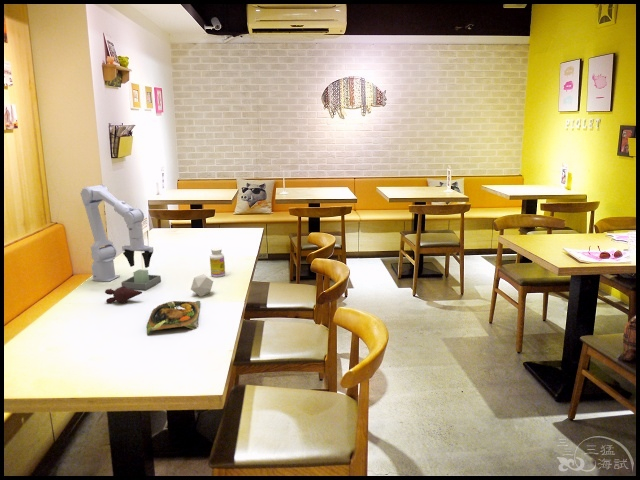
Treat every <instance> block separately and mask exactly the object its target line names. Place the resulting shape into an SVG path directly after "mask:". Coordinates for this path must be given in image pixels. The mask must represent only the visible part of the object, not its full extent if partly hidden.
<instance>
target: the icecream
mask: <svg viewBox="0 0 640 480" xmlns="http://www.w3.org/2000/svg"><path fill="white" fill-rule="evenodd" d="M104 293H105V294H106V295H110V296H111V295H113V296H112V297H109V298H106V303H107V304H112V303H114V302H118V303H123V304H124V303H127V302H128V301H129V300H131V299H132V298H135V297H137V296H139V295H141V294H142V293H143V291H142V290H132V289H127V288H126V287H125V286H123V287H122V286H120V287H118V288H116V289H115V290H114V289H112V288H108V289H105V291H104Z"/></svg>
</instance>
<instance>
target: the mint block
mask: <svg viewBox="0 0 640 480" xmlns="http://www.w3.org/2000/svg"><path fill="white" fill-rule="evenodd" d="M132 274H133V276H134V283H144V284H145V283H147V282H148V281H149V275H150V274H149V270H148V269H137V270H136V271H133V273H132Z"/></svg>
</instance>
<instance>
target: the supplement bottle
mask: <svg viewBox="0 0 640 480" xmlns="http://www.w3.org/2000/svg"><path fill="white" fill-rule="evenodd" d="M222 251H223V250H222V247H213V248H212V249H211V254H210V255H209V264H210V275H211V276H212V277H214V278H219V277H223V276H225V275H226V265H225V264H226V263H225V255H224V253H222Z"/></svg>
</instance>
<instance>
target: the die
mask: <svg viewBox="0 0 640 480" xmlns="http://www.w3.org/2000/svg"><path fill="white" fill-rule="evenodd" d="M213 285H214V280H212V279H211V278H210V277H208V276H207V275H205V274H204V273H203V274H200V275H197V276H195V277H193V279H192V284H191V287H190V291H192V292H193V293H195V294H197V295H198V296H199V297H204V296H205V295H208V293H209V294H210V293H211V291H212V288H213Z"/></svg>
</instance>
